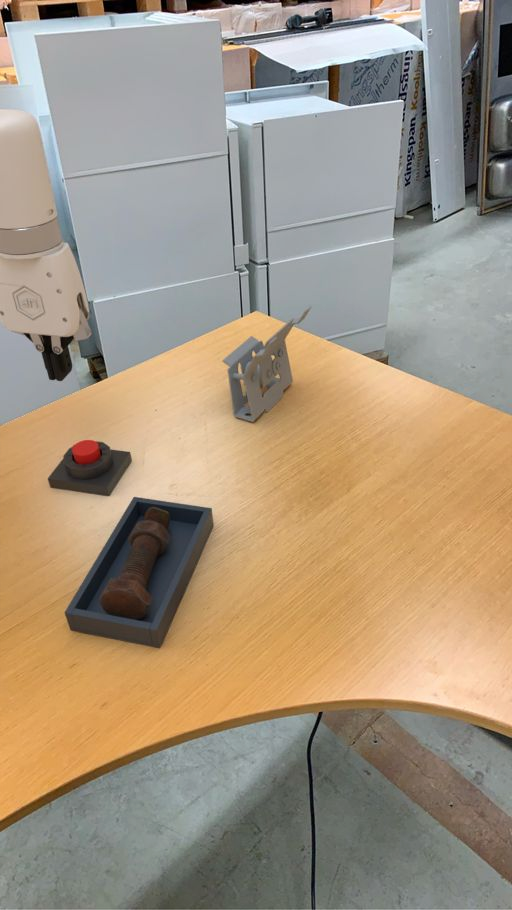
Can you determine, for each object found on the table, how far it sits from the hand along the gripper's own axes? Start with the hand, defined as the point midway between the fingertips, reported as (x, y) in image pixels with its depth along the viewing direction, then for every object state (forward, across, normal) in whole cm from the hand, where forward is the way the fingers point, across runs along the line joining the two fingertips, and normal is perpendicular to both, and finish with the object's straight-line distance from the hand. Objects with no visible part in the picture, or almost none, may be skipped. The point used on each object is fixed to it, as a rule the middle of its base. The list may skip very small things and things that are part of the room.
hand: (61, 375), depth 85 cm
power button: (+13, +2, -1) cm, 13 cm away
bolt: (+15, +17, -17) cm, 28 cm away
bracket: (+16, +22, +22) cm, 35 cm away
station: (+16, +2, -1) cm, 16 cm away
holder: (+15, +17, -17) cm, 28 cm away
